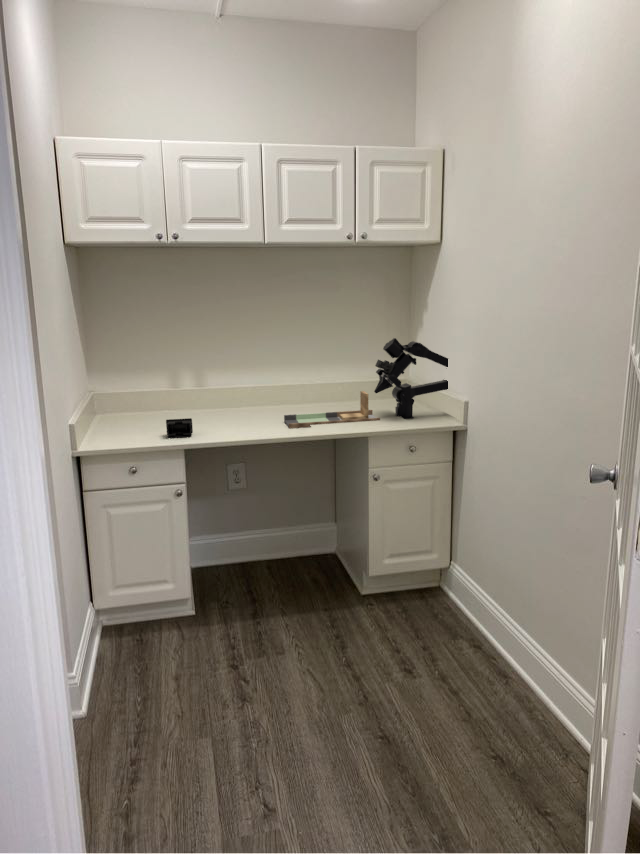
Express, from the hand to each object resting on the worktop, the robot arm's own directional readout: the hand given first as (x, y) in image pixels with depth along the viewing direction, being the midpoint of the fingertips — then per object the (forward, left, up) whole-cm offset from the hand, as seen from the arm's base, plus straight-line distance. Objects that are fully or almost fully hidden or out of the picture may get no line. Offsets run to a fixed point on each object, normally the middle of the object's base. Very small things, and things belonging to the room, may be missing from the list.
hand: (375, 392), depth 283 cm
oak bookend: (+9, 0, -11) cm, 14 cm away
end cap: (+83, +6, -12) cm, 84 cm away
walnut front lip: (+19, +6, -12) cm, 23 cm away
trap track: (+19, 0, -12) cm, 22 cm away
